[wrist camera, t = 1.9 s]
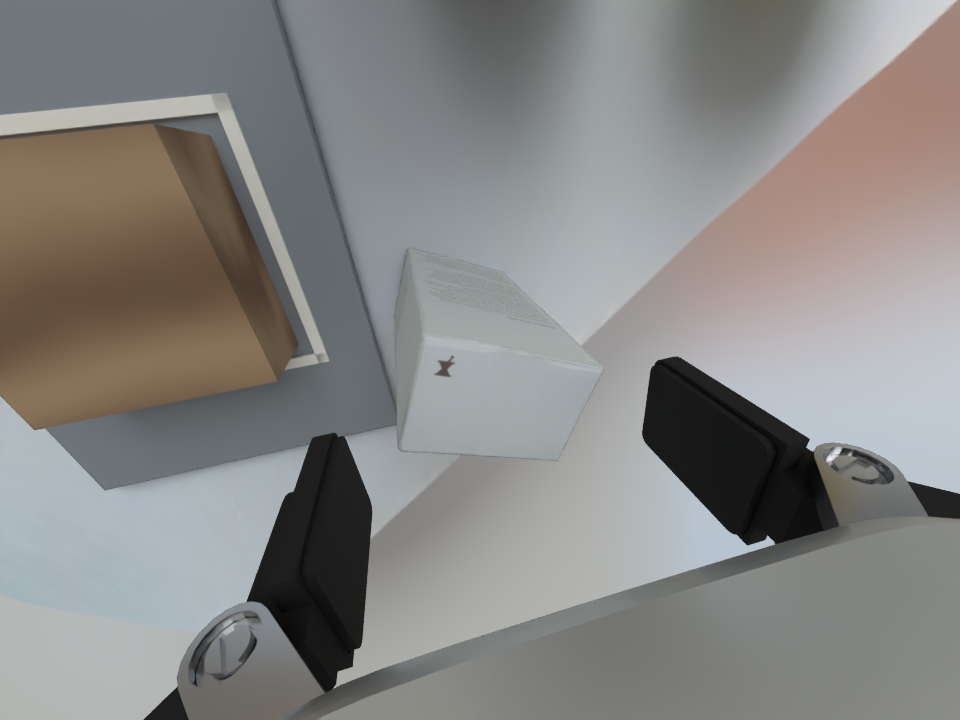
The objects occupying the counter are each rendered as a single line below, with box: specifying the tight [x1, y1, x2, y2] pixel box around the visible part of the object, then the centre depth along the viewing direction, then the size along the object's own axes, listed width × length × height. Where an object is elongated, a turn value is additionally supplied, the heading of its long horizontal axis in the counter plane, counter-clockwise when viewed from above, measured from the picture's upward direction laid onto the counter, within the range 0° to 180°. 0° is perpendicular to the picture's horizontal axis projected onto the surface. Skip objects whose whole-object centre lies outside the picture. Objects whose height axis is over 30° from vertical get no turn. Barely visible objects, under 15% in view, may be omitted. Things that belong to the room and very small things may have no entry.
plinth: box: [0, 124, 299, 430], centre depth 15 cm, size 10×10×4 cm
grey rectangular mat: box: [0, 0, 397, 490], centre depth 17 cm, size 24×18×1 cm
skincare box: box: [394, 248, 604, 461], centre depth 16 cm, size 6×4×12 cm
